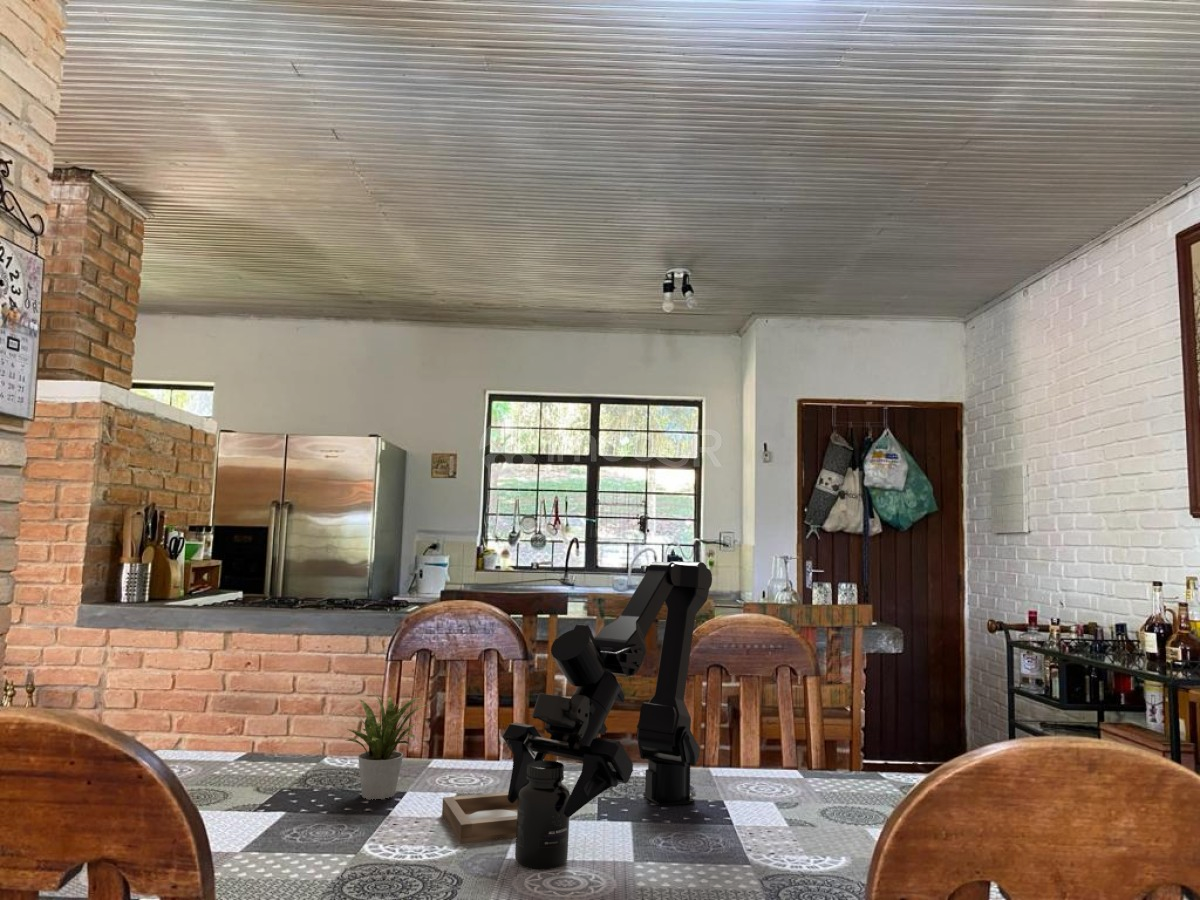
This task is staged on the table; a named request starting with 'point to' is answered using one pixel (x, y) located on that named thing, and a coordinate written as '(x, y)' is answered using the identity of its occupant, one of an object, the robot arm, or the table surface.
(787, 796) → the table surface
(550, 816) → the supplement bottle
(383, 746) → the house plant
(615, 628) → the robot arm
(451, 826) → the holder
